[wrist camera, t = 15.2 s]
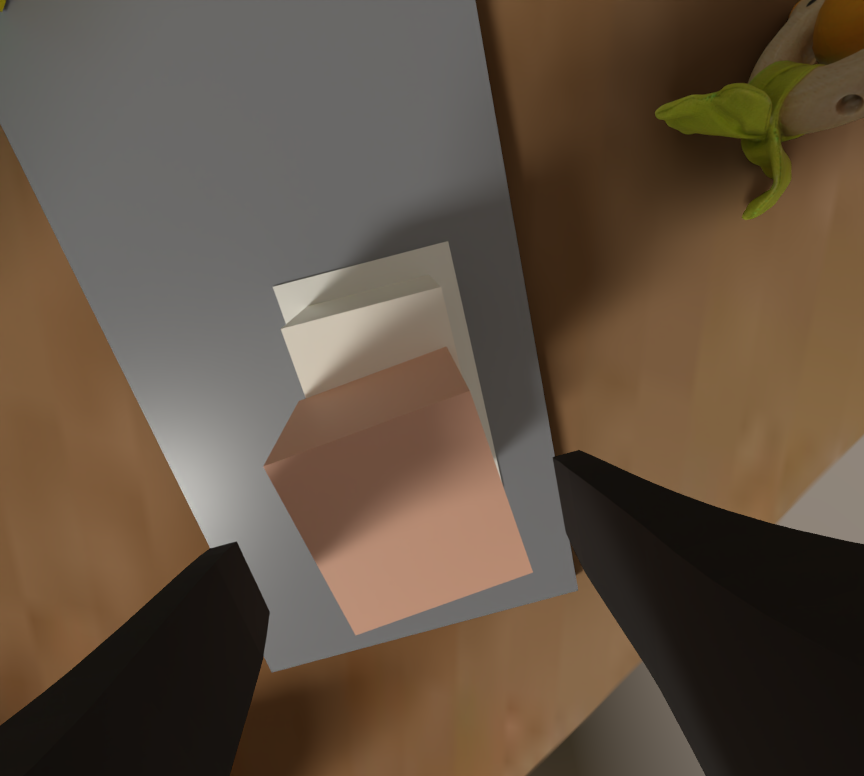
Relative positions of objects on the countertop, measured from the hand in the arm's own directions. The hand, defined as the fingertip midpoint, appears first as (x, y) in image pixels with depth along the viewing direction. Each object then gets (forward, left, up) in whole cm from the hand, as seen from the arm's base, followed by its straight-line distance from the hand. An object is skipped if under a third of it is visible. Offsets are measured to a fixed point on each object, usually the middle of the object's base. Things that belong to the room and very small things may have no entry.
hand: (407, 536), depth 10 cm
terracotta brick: (0, 0, -5) cm, 5 cm away
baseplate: (-2, +2, -10) cm, 11 cm away
